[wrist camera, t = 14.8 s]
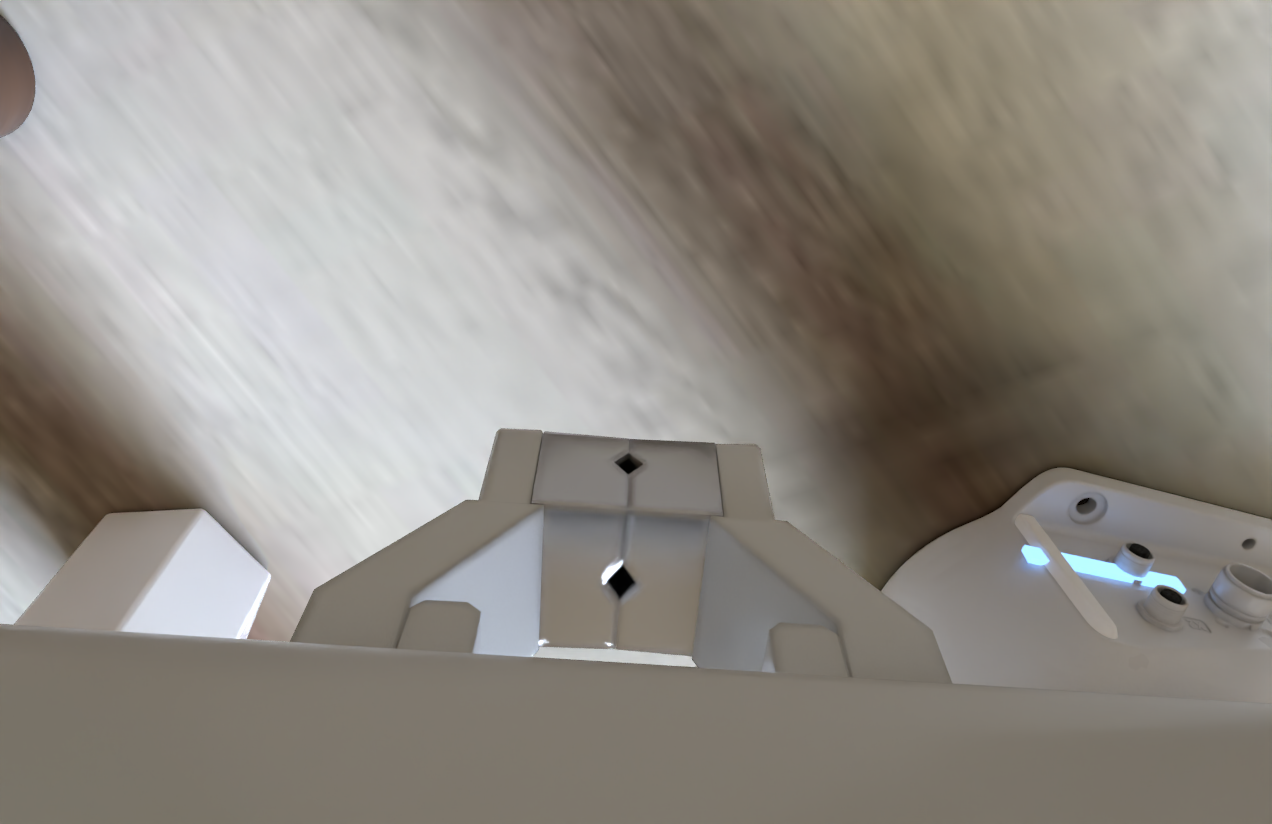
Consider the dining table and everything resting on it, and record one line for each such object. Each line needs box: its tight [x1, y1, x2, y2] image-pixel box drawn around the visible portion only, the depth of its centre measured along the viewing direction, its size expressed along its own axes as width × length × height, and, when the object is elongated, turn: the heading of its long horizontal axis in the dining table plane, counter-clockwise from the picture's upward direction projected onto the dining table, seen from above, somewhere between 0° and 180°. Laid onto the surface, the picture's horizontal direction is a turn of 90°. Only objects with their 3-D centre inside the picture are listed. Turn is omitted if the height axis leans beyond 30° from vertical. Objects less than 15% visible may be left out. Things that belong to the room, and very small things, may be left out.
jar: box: [14, 508, 271, 639], centre depth 43 cm, size 9×8×12 cm
